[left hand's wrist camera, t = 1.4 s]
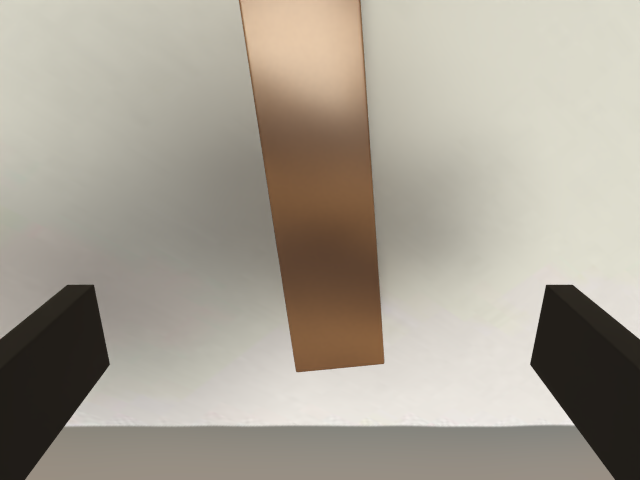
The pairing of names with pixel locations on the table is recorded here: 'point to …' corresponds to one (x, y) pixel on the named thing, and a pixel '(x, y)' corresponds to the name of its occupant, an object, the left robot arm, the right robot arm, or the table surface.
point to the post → (318, 174)
